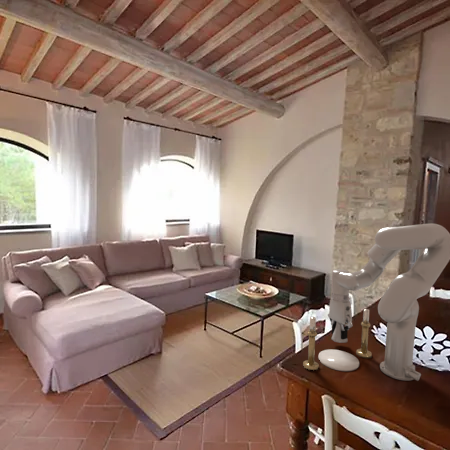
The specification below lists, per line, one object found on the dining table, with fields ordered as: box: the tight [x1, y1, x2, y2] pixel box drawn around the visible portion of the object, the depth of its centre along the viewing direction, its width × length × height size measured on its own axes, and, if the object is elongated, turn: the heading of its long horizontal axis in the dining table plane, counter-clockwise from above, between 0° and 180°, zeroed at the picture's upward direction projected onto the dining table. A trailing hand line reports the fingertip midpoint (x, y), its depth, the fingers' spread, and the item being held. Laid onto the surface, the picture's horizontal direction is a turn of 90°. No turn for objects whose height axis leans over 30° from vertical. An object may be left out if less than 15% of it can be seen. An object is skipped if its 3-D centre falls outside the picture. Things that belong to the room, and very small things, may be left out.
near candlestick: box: [302, 316, 319, 372], centre depth 126 cm, size 6×6×20 cm
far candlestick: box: [355, 308, 373, 359], centre depth 136 cm, size 6×6×20 cm
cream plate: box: [317, 349, 360, 372], centre depth 132 cm, size 16×16×1 cm
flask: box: [331, 322, 349, 344], centre depth 144 cm, size 7×7×10 cm
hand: (339, 335), depth 144 cm, fingers closed on flask, 5 cm apart
